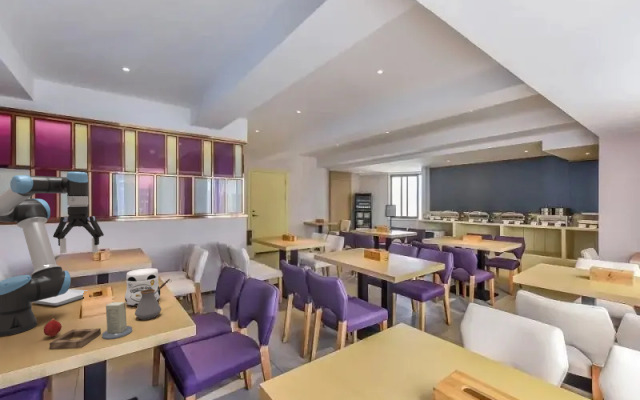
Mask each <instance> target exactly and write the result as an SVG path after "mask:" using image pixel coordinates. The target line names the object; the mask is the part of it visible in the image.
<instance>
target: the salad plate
mask: <svg viewBox="0 0 640 400" xmlns="http://www.w3.org/2000/svg"><path fill="white" fill-rule="evenodd" d="M84 291H87V290H85V289H73V288H69V289H68V291H67V292H66V293H65V294H62V295H59V296H56V297H51V298H47V299H43V300H39V301H35V302H32V304H33V303H34V304H37V305H38V304H39V305H47V306H54V307H55V306H56V307H58V306H62V305H66V304H69V303H71V302H75V301H79V300H81V299H83V298H82V297H83V295H84V294H83V293H84Z"/></svg>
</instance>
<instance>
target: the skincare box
mask: <svg viewBox="0 0 640 400" xmlns="http://www.w3.org/2000/svg"><path fill="white" fill-rule="evenodd" d="M126 306H127V305H126V301H121V302H120V301H117V302H116V301H114V302H113V301H112V302H110V303H108V304H106V305H105V314H106V315H105V316H106V318H105V319H106V330H107V333H121V332H123V331H124V330H126V329H127V326H128V325H127V307H126Z"/></svg>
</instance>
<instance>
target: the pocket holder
mask: <svg viewBox="0 0 640 400" xmlns="http://www.w3.org/2000/svg"><path fill="white" fill-rule="evenodd" d="M101 333H102V330H101V328H80V329H76V328H74V329H71V330H69V331H67V332H65V333H64V334H62V335H61V336H58V337H56V338H55V339H54V340H52V341H50V342H49V343H48V345H49V350H56V349H57V350H59V349H60V350H62V349H64V350H65V349H79V348H80V349H82V348H83V347H85V346H86V345H88V344H89V343H91V342H92V341H93V340H95V339H96V338H98V337H99V336H100V335H102V334H101ZM73 338H77V339H73ZM78 338H80V339H78Z"/></svg>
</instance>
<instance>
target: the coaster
mask: <svg viewBox="0 0 640 400" xmlns="http://www.w3.org/2000/svg"><path fill="white" fill-rule="evenodd" d="M132 332H133V327H132V326H130V325H127V329H126V330H124V331H123V332H121V333H107V329H106V330H105V331H103V332H102V334H101V336H102V339H104V340H115V339H120V338H124V337H126V336H128V335H130V334H131V333H132Z"/></svg>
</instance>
